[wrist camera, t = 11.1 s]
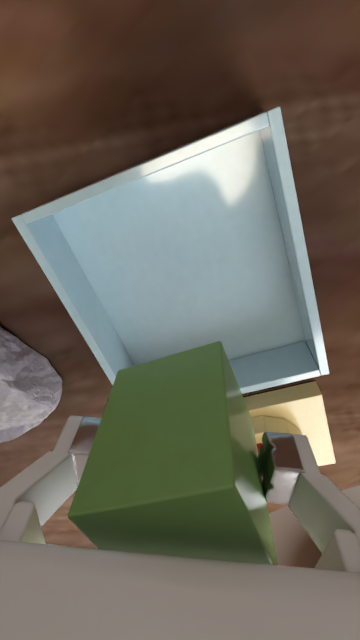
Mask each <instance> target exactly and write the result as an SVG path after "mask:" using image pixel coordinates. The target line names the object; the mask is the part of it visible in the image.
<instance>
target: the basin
mask: <svg viewBox="0 0 360 640" xmlns="http://www.w3.org/2000/svg"><path fill="white" fill-rule="evenodd" d="M12 221H13V223H14V224H15V226H16V228H17V229H18V231H19V232H20V234H21V236H22V237H23V239H24V241H25V242H26V244H27V246H28V247H29V249H30V251H31V252H32V254H33V255H34V257H35V259H36V260H37V262H38V264H39V265H40V267H41V269H42V270H43V272H44V274H45V275H46V277H47V278H48V280H49V282H50V283H51V285H52V287H53V288H54V290H55V292H56V293H57V295H58V296H59V298H60V300H61V301H62V303H63V305H64V306H65V308H66V310H67V311H68V313H69V315H70V316H71V318H72V319H73V321H74V323H75V324H76V326H77V328H78V329H79V331H80V333H81V334H82V336H83V338H84V339H85V341H86V342H87V344H88V346H89V347H90V349H91V351H92V352H93V354H94V356H95V357H96V359H97V361H98V362H99V364H100V365H101V367H102V369H103V370H104V372H105V374H106V375H107V377H108V379H109V380H110V382H111V383H112V385H113V384H114V381H115V378H116V375H117V372H118V371H119V370H121V369H125V368H128V367H132V366H135V365H138V364H142V363H145V362H149V361H152V360H156V359H159V358H162V357H166V356H169V355H173V354H176V353H180V352H183V351H186V350H190V349H193V348H197V347H200V346H204V345H207V344H210V343H214V342H217V341H221V342H222V345H223V347H224V350H225V353H226V355H227V358H228V360H229V363H230V365H231V368H232V370H233V373H234V375H235V378H236V380H237V383H238V385H239V388H240V390H241V393H242V394H244V393H248V392H253V391H257V390H261V389H266V388H270V387H274V386H278V385H283V384H287V383H291V382H296V381H300V380H304V379H309V378H313V377H317V376H320V375H326V374H329V368H328V362H327V357H326V351H325V346H324V341H323V335H322V330H321V324H320V319H319V314H318V308H317V303H316V297H315V292H314V287H313V281H312V276H311V270H310V265H309V260H308V254H307V249H306V243H305V238H304V233H303V227H302V222H301V216H300V211H299V206H298V200H297V195H296V190H295V184H294V179H293V173H292V168H291V163H290V157H289V152H288V146H287V141H286V136H285V130H284V125H283V119H282V114H281V109H280V107H275V108H272V109H269V110H265V111H262V112H260V113H257V114H255V115H253V116H250V117H248V118H245V119H243V120H241V121H238V122H236V123H234V124H231V125H229V126H226V127H224V128H222V129H219V130H217V131H214V132H212V133H210V134H207V135H205V136H203V137H200V138H198V139H195V140H193V141H191V142H188V143H186V144H184V145H181V146H179V147H176V148H174V149H172V150H169V151H167V152H164V153H162V154H160V155H157V156H155V157H153V158H150V159H148V160H145V161H143V162H141V163H138V164H136V165H133V166H131V167H129V168H126V169H124V170H122V171H119V172H117V173H114V174H112V175H110V176H107V177H105V178H103V179H100V180H98V181H95V182H93V183H91V184H88V185H86V186H83V187H81V188H79V189H76V190H74V191H72V192H69V193H67V194H64V195H62V196H60V197H57V198H55V199H52V200H50V201H48V202H45V203H43V204H41V205H39V206H37V207H34V208H32V209H30V210H28V211H26V212H24V213H22V214H20V215H17V216H15V217H13V218H12Z"/></svg>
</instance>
